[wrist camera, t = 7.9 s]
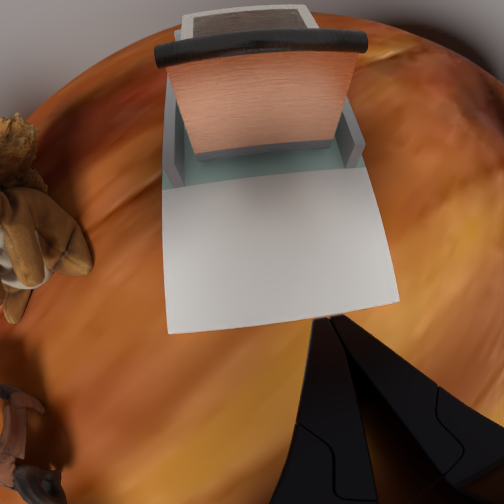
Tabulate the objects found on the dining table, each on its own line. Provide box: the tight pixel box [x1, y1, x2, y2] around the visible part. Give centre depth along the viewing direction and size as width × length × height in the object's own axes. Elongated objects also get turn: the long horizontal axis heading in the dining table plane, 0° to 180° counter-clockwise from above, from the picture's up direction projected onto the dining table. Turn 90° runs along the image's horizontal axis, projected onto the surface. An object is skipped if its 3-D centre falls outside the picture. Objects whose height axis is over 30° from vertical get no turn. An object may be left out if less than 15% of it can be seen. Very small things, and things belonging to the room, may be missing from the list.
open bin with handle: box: [154, 5, 368, 162], centre depth 17 cm, size 10×10×11 cm
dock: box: [162, 29, 399, 334], centre depth 20 cm, size 24×15×6 cm, turn 7°
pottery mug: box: [0, 384, 67, 504], centre depth 14 cm, size 12×10×8 cm
